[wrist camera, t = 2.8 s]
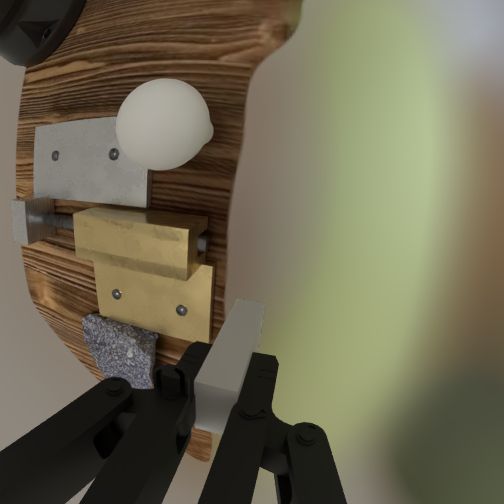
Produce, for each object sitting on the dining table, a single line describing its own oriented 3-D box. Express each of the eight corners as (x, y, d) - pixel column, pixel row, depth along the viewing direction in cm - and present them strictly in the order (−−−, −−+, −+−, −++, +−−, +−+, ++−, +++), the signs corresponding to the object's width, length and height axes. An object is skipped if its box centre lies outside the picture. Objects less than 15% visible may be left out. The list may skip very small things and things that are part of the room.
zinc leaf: (41, 126, 27) (11, 127, 22) (223, 116, 24) (204, 107, 19) (41, 230, 31) (14, 241, 26) (210, 261, 28) (192, 282, 23)
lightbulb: (160, 129, 25) (82, 121, 15) (209, 86, 23) (150, 48, 13) (196, 179, 26) (130, 195, 16) (250, 137, 24) (211, 122, 14)
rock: (147, 347, 27) (149, 414, 30) (170, 326, 33) (168, 390, 35) (66, 313, 30) (76, 378, 32) (93, 299, 35) (98, 361, 37)
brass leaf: (96, 203, 28) (66, 212, 24) (218, 218, 26) (200, 231, 22) (104, 311, 33) (81, 331, 28) (211, 340, 31) (197, 368, 26)
